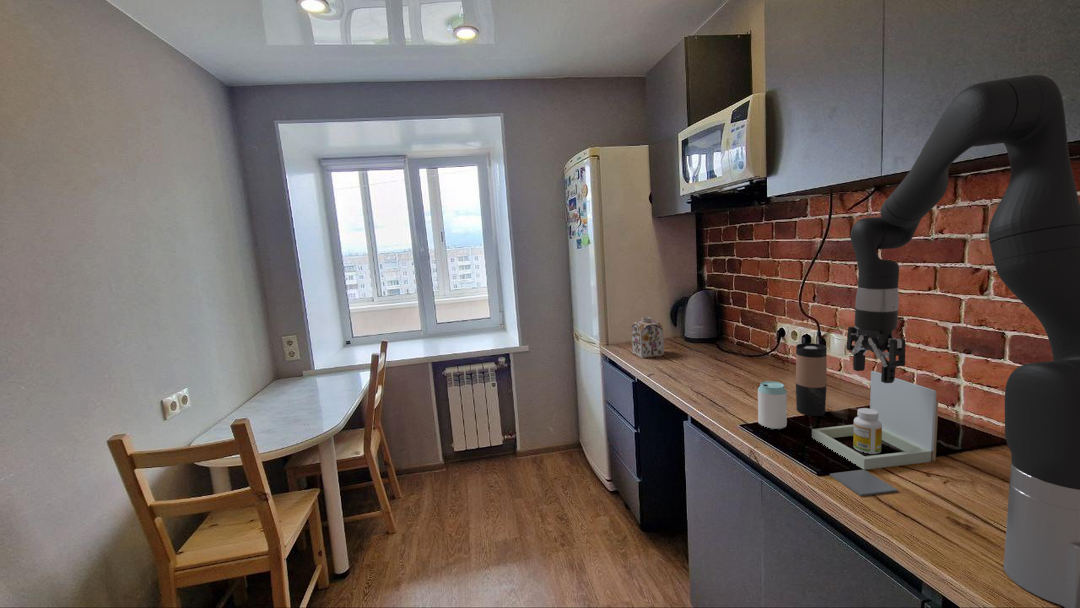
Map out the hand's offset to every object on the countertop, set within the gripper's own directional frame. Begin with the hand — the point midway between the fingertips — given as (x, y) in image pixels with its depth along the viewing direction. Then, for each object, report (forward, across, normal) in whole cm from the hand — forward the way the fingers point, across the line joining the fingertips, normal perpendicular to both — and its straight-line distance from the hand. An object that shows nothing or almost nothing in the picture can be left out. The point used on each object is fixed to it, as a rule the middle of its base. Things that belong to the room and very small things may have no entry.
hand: (872, 376), depth 97 cm
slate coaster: (+19, -12, +10) cm, 24 cm away
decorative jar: (+23, +103, +28) cm, 109 cm away
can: (+20, +18, +13) cm, 30 cm away
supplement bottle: (+19, +2, -1) cm, 20 cm away
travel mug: (+20, +26, -2) cm, 33 cm away
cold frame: (+19, +2, -1) cm, 19 cm away
